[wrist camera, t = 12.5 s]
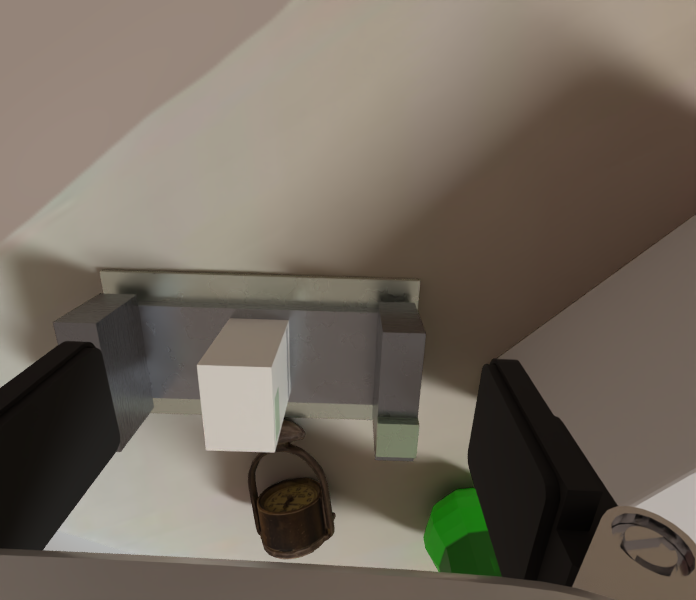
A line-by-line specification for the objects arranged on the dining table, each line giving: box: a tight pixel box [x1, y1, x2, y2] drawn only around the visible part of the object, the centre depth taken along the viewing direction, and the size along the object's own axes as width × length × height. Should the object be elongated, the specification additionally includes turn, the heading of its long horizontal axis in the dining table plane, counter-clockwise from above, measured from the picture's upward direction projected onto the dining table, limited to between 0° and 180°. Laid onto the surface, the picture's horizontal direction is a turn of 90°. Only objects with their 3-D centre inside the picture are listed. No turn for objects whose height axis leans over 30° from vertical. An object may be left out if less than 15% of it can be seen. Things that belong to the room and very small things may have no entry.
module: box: [197, 318, 290, 453], centre depth 34 cm, size 7×5×8 cm
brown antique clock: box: [248, 419, 336, 559], centre depth 41 cm, size 7×13×10 cm
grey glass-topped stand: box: [53, 270, 426, 461], centre depth 35 cm, size 14×27×9 cm, turn 88°
